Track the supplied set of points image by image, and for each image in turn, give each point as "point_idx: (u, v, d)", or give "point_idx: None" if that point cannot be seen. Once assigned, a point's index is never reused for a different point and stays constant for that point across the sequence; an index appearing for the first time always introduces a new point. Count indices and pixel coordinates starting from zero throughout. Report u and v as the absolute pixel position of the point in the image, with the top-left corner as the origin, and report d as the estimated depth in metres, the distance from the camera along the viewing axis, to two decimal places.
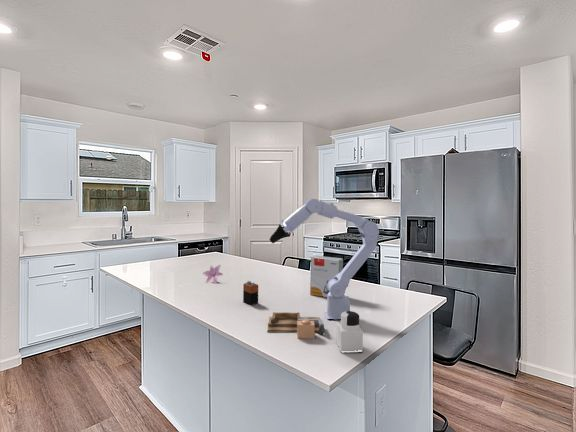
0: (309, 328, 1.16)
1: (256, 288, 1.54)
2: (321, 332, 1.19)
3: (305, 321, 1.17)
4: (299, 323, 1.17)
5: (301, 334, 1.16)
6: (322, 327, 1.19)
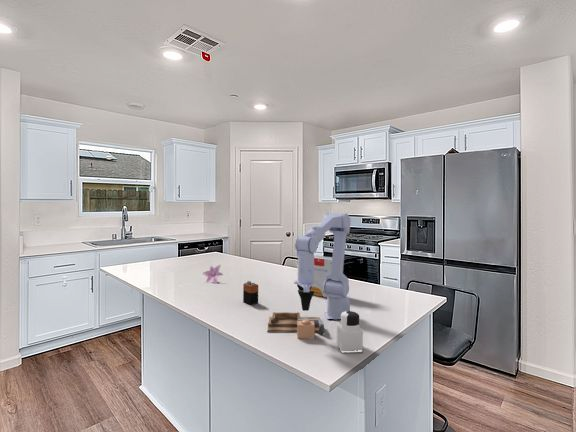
0: (309, 328, 1.16)
1: (256, 288, 1.54)
2: (321, 332, 1.19)
3: (305, 321, 1.17)
4: (299, 323, 1.17)
5: (301, 334, 1.16)
6: (322, 327, 1.19)
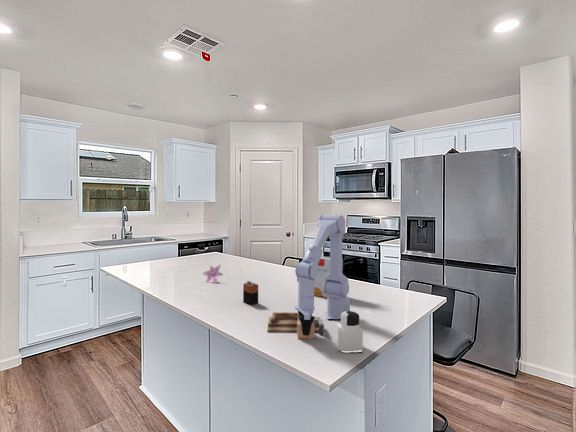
0: None
1: (256, 288, 1.54)
2: (321, 332, 1.19)
3: None
4: (299, 323, 1.17)
5: (301, 334, 1.16)
6: (322, 327, 1.19)
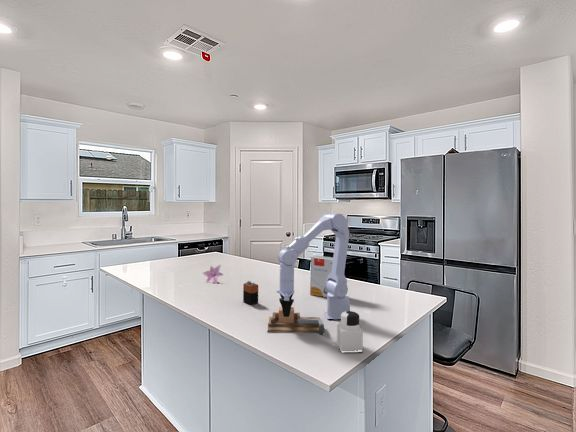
0: None
1: (256, 288, 1.54)
2: (321, 332, 1.19)
3: None
4: (280, 309, 1.29)
5: (282, 319, 1.28)
6: (322, 327, 1.19)
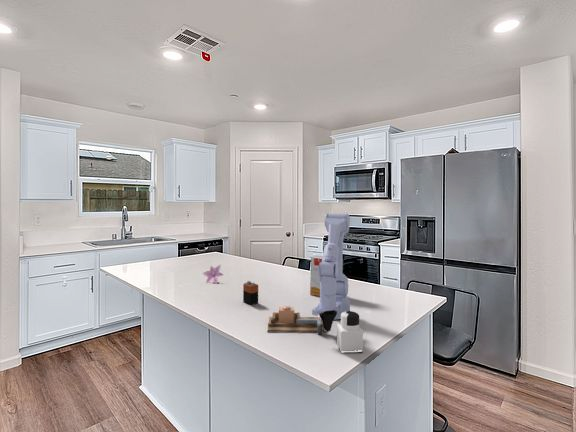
0: (289, 313, 1.28)
1: (256, 288, 1.54)
2: (319, 332, 1.19)
3: (286, 307, 1.30)
4: (280, 309, 1.29)
5: (282, 319, 1.28)
6: (320, 327, 1.19)
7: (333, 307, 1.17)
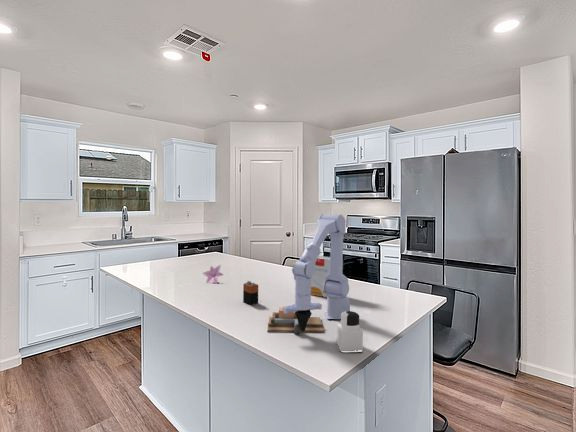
0: (289, 313, 1.28)
1: (256, 288, 1.54)
2: (296, 332, 1.19)
3: None
4: (280, 309, 1.29)
5: None
6: (297, 327, 1.19)
7: (305, 307, 1.17)
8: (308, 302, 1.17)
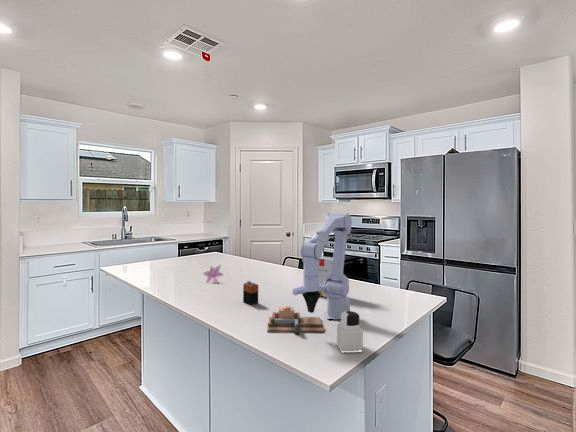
0: (289, 313, 1.28)
1: (256, 288, 1.54)
2: (296, 332, 1.19)
3: (286, 307, 1.30)
4: (280, 309, 1.29)
5: None
6: (297, 327, 1.19)
7: (314, 288, 1.16)
8: (317, 283, 1.17)
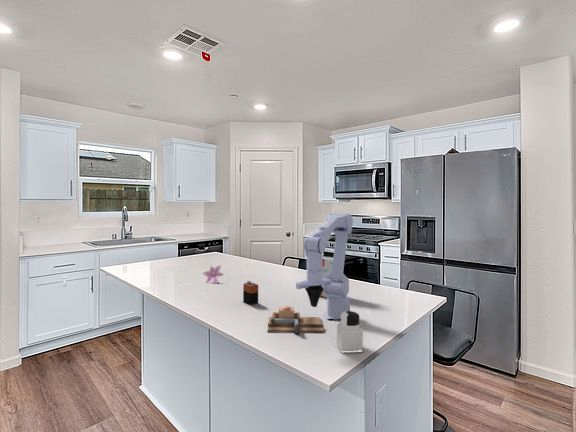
0: (289, 313, 1.28)
1: (256, 288, 1.54)
2: (296, 332, 1.19)
3: (286, 307, 1.30)
4: (280, 309, 1.29)
5: None
6: (297, 327, 1.19)
7: (318, 282, 1.16)
8: (320, 277, 1.17)
